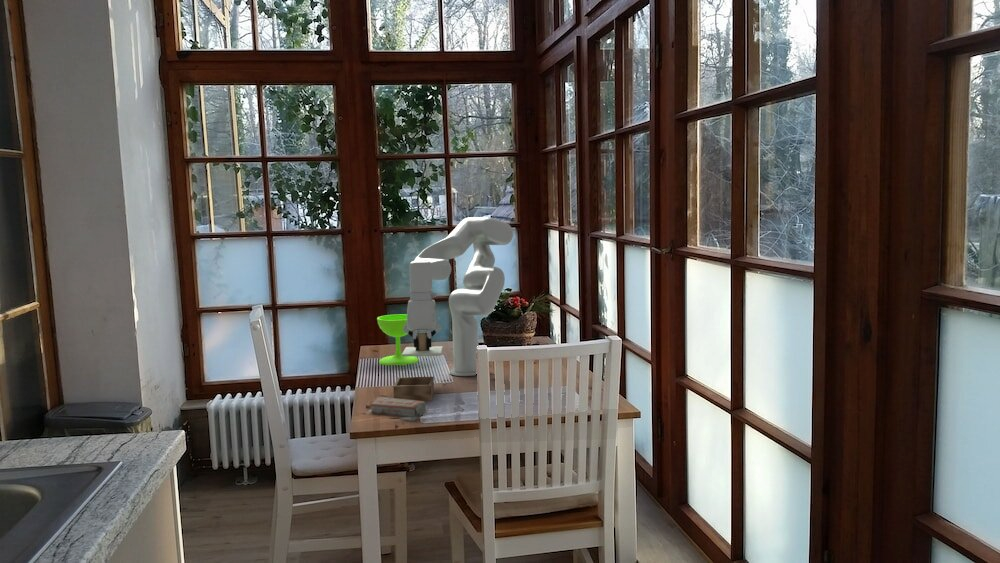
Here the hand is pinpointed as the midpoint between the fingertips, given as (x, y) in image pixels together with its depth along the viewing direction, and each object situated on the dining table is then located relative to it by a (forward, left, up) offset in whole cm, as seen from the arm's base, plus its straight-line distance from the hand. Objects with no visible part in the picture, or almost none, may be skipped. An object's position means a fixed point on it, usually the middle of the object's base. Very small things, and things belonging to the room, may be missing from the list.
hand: (422, 349), depth 265 cm
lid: (0, 0, -1) cm, 1 cm away
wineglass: (+14, -45, -14) cm, 49 cm away
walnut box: (+2, +15, -14) cm, 20 cm away
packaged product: (+6, +31, -14) cm, 35 cm away
